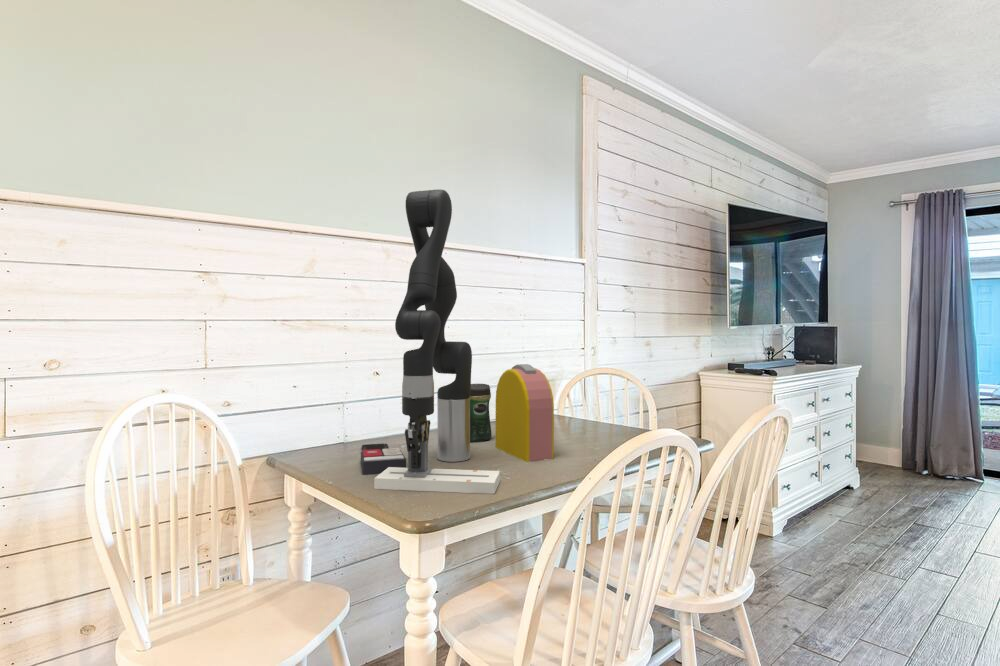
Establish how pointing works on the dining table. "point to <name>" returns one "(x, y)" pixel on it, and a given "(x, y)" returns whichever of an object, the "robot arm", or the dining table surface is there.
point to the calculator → (381, 460)
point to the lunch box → (525, 414)
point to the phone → (374, 446)
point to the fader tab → (424, 468)
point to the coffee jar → (480, 412)
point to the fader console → (440, 481)
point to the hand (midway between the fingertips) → (418, 466)
